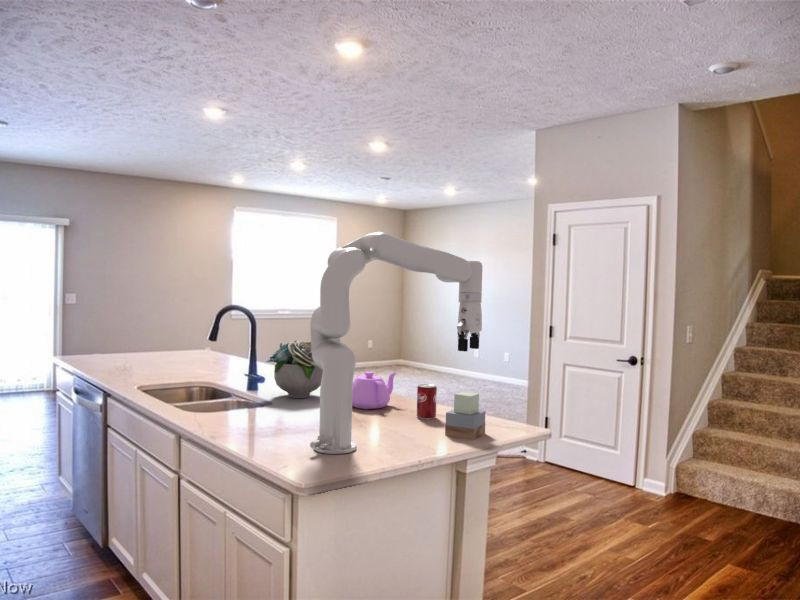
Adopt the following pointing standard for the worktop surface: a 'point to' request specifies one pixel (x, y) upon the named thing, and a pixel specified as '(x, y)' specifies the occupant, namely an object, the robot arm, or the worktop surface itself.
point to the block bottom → (464, 432)
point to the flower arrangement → (296, 369)
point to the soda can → (426, 401)
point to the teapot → (371, 391)
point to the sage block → (466, 403)
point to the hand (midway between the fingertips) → (468, 349)
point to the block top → (465, 419)
